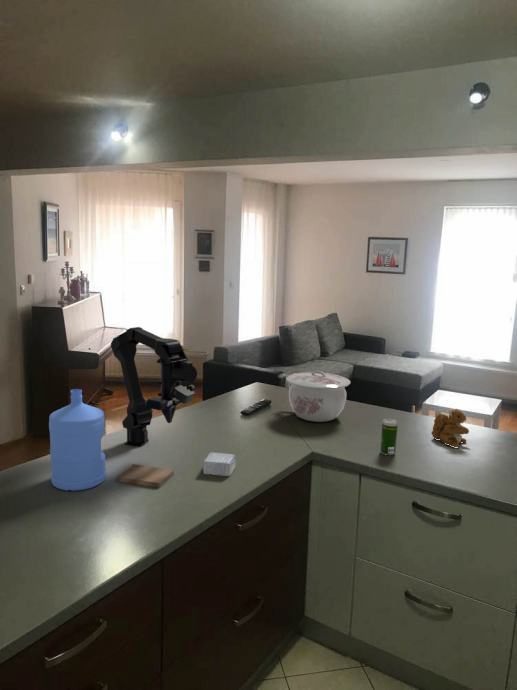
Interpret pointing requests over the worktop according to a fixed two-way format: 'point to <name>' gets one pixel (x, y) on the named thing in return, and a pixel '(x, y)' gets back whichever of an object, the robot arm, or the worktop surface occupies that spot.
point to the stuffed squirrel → (450, 428)
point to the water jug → (77, 445)
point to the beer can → (388, 436)
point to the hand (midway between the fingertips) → (169, 422)
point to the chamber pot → (317, 395)
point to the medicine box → (219, 464)
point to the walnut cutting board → (145, 475)
